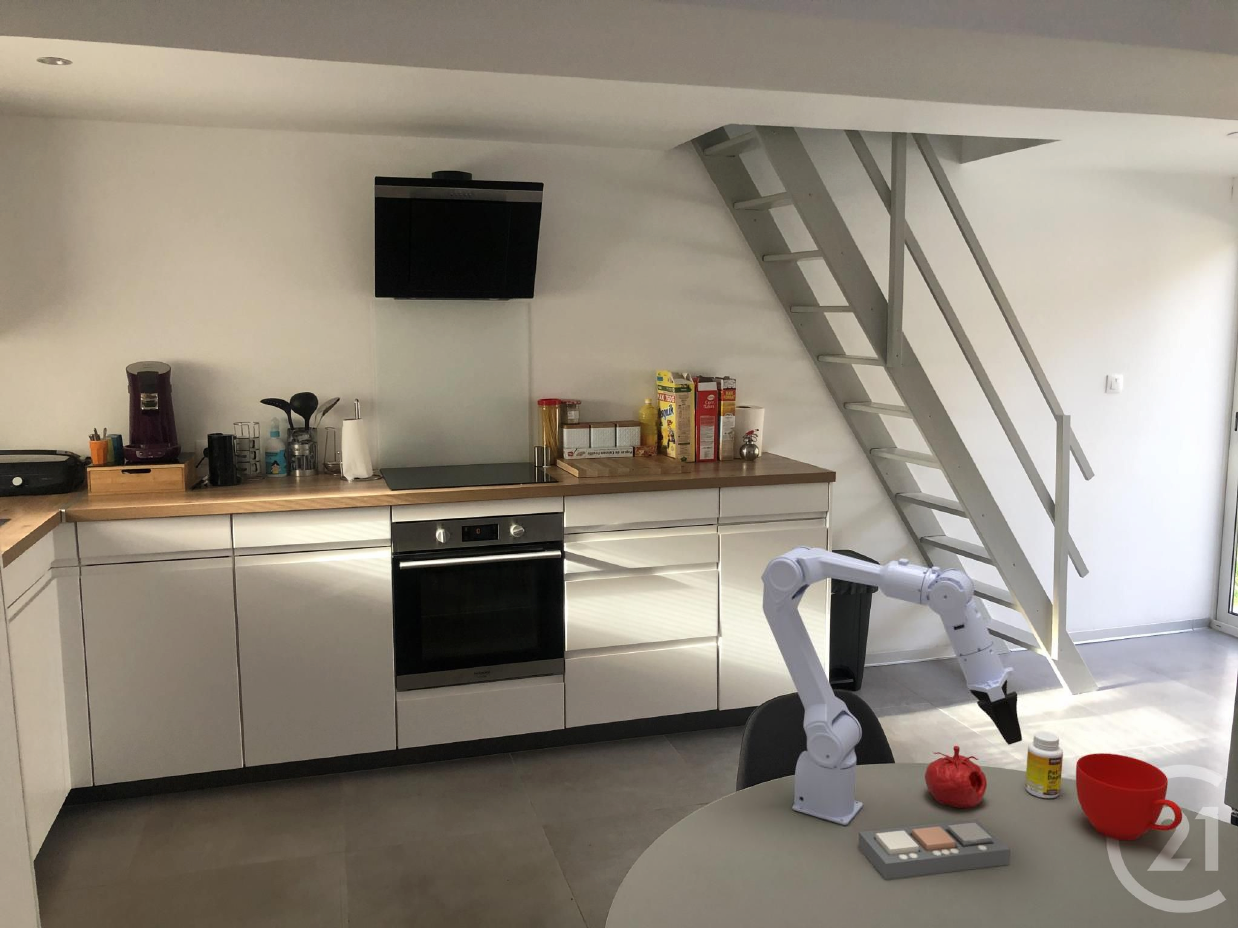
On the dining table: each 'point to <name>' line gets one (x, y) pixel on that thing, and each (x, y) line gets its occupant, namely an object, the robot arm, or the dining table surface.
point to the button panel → (933, 854)
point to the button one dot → (969, 834)
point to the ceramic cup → (1122, 795)
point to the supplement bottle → (1044, 765)
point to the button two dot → (896, 843)
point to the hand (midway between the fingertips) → (1010, 735)
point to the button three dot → (933, 838)
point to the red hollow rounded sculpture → (956, 780)
